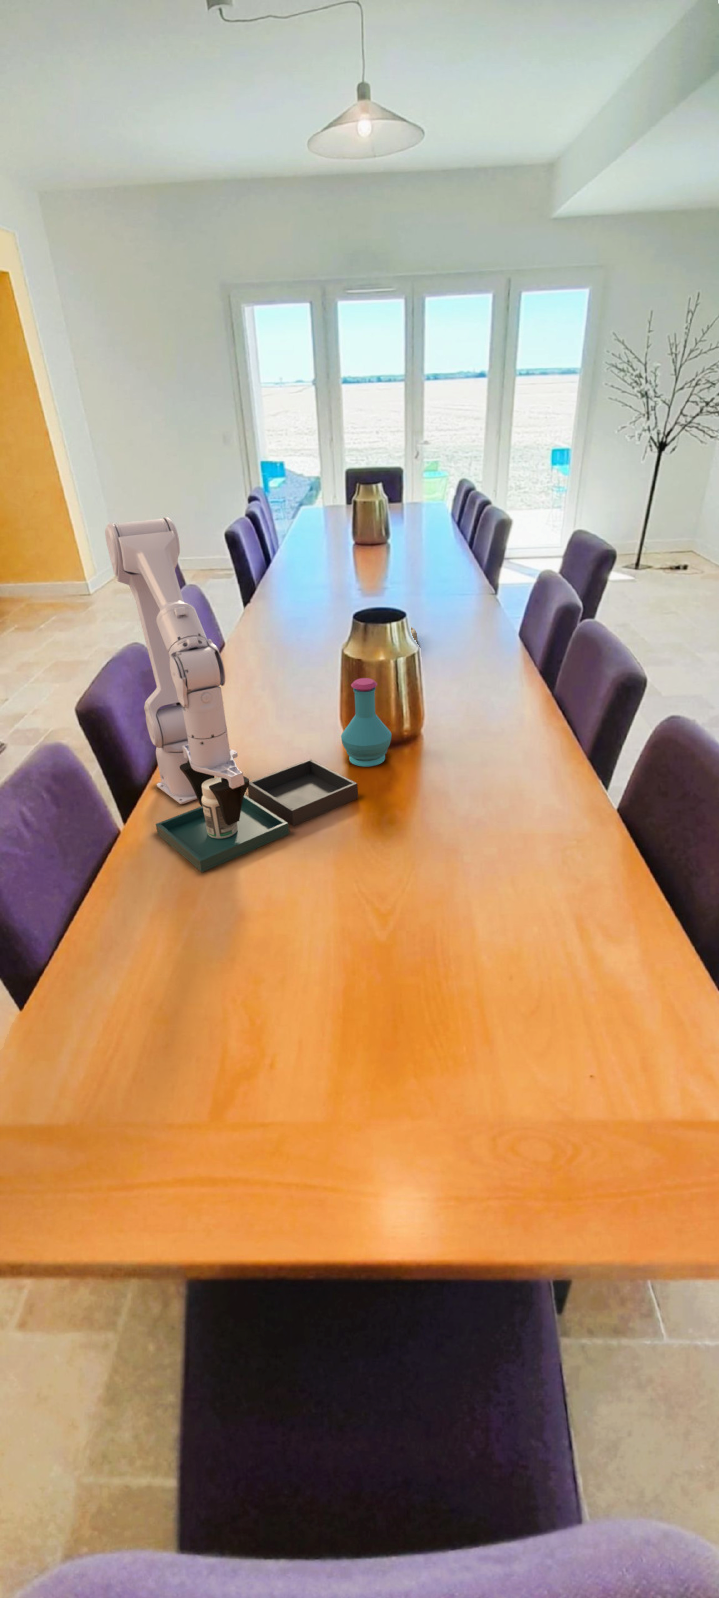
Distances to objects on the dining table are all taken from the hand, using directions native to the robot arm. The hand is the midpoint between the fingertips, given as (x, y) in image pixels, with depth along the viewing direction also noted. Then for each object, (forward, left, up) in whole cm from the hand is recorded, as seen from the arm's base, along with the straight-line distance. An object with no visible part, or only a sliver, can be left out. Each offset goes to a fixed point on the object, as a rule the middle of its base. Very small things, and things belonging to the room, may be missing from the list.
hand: (219, 813), depth 110 cm
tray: (0, 0, -4) cm, 4 cm away
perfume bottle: (-5, +33, -4) cm, 34 cm away
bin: (-1, +16, -4) cm, 16 cm away
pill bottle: (0, 0, -3) cm, 3 cm away
